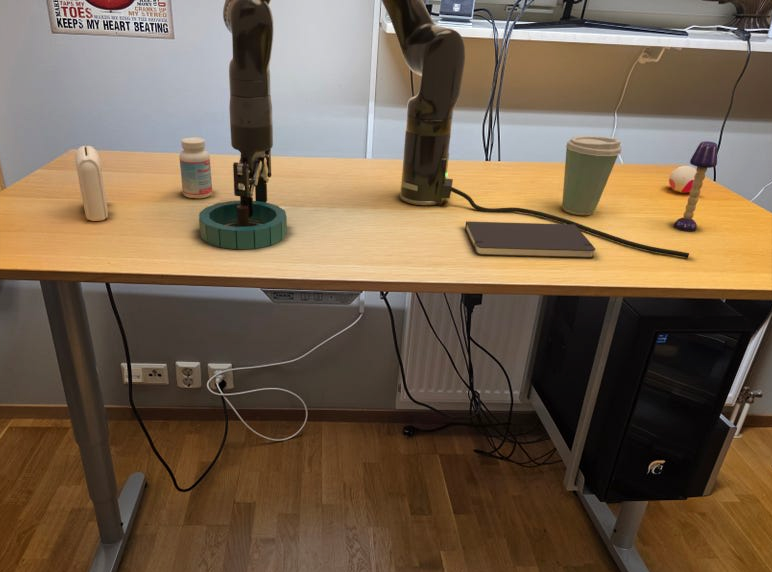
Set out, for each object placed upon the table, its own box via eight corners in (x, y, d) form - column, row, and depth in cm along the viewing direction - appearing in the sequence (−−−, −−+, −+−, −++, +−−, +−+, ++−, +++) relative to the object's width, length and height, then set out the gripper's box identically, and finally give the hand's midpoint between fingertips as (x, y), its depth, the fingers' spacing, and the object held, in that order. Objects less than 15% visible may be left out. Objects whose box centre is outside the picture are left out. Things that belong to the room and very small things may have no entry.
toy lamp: (684, 233, 129) (712, 147, 120) (665, 225, 132) (690, 140, 123) (700, 229, 131) (729, 144, 122) (681, 222, 134) (707, 138, 125)
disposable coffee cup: (543, 209, 138) (558, 136, 130) (567, 198, 144) (583, 128, 136) (590, 223, 132) (609, 147, 124) (613, 211, 138) (632, 138, 130)
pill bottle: (206, 200, 135) (201, 145, 129) (178, 197, 136) (172, 142, 130) (217, 191, 140) (213, 137, 134) (190, 188, 141) (185, 135, 135)
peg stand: (271, 227, 123) (270, 201, 121) (257, 243, 117) (256, 216, 114) (231, 223, 125) (229, 197, 122) (215, 238, 118) (213, 211, 115)
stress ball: (676, 210, 150) (699, 191, 145) (654, 183, 152) (676, 163, 147) (692, 202, 154) (715, 184, 149) (671, 176, 156) (693, 157, 151)
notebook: (573, 232, 127) (464, 229, 126) (575, 224, 126) (465, 221, 126) (595, 258, 116) (476, 255, 116) (597, 250, 116) (477, 246, 115)
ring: (296, 222, 126) (296, 205, 124) (271, 253, 113) (270, 234, 111) (219, 214, 128) (218, 196, 127) (186, 243, 115) (184, 224, 114)
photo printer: (84, 204, 130) (72, 141, 124) (107, 203, 131) (96, 140, 125) (85, 222, 122) (73, 155, 115) (109, 220, 123) (98, 154, 117)
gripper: (258, 131, 110) (261, 224, 119) (283, 114, 122) (284, 199, 131) (216, 127, 111) (222, 219, 120) (245, 110, 123) (248, 195, 132)
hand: (254, 209), depth 125 cm, fingers open, 7 cm apart
